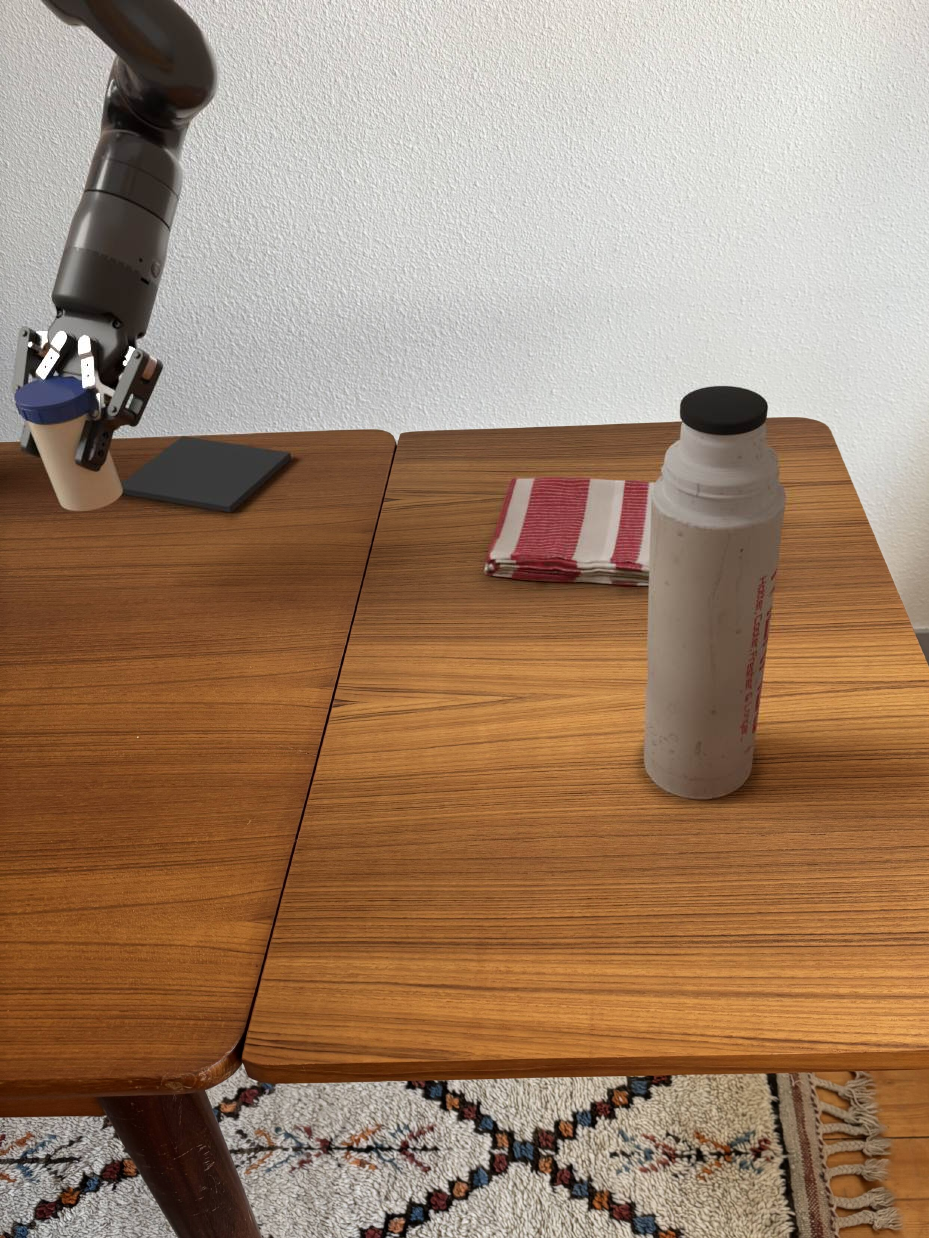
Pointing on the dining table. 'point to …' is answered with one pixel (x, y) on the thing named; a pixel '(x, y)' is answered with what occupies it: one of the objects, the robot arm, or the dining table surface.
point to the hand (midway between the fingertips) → (59, 461)
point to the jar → (74, 466)
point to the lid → (52, 400)
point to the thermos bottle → (711, 593)
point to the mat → (205, 474)
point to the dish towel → (573, 531)
